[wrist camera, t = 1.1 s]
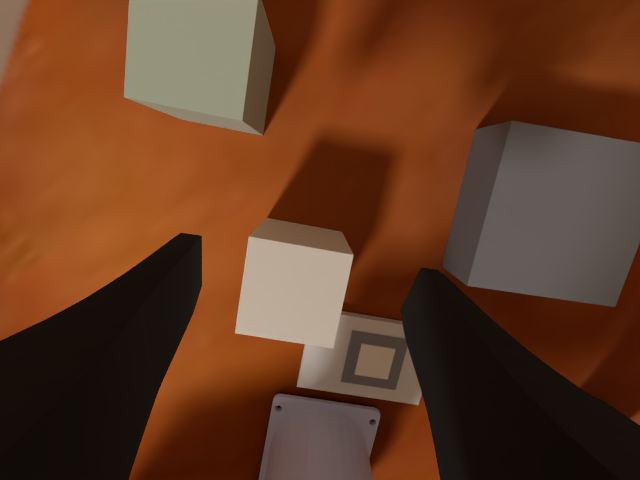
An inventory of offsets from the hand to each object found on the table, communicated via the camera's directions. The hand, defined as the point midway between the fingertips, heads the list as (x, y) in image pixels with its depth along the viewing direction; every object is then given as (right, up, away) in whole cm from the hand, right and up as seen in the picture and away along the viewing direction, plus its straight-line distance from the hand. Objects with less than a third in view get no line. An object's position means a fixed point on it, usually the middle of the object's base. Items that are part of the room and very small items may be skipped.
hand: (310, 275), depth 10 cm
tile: (+4, -7, +12) cm, 15 cm away
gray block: (+14, +3, +11) cm, 18 cm away
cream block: (-1, 0, +11) cm, 11 cm away
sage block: (-5, +10, +8) cm, 14 cm away
